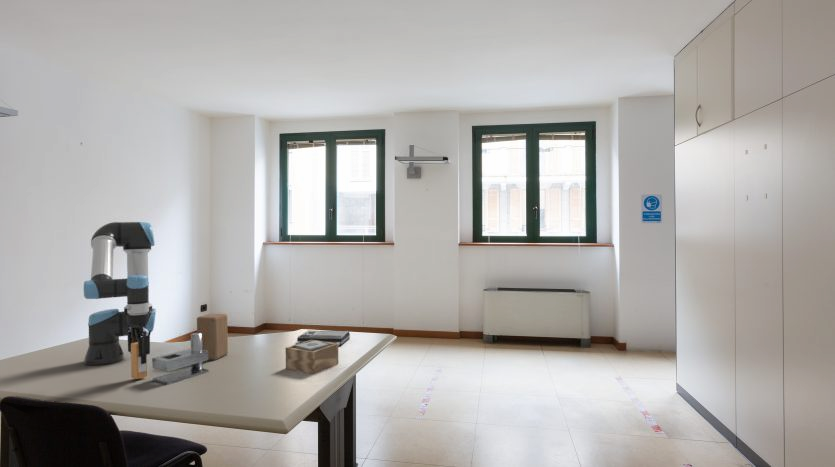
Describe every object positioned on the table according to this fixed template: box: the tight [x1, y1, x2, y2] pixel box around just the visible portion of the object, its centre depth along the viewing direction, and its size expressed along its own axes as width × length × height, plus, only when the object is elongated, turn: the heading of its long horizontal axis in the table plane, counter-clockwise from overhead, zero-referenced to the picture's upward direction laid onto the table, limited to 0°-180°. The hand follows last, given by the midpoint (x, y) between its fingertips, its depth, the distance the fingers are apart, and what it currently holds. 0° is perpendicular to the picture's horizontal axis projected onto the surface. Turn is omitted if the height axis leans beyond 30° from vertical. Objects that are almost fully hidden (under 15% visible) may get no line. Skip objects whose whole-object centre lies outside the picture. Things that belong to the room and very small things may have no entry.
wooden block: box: [196, 313, 229, 361], centre depth 215 cm, size 10×10×20 cm
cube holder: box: [285, 340, 339, 375], centre depth 200 cm, size 16×16×9 cm
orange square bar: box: [130, 342, 148, 380], centre depth 184 cm, size 4×4×14 cm
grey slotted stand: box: [151, 332, 209, 385], centre depth 188 cm, size 10×18×16 cm, turn 150°
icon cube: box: [296, 341, 329, 351], centre depth 198 cm, size 10×10×10 cm
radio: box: [294, 330, 351, 347], centre depth 241 cm, size 24×5×20 cm
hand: (139, 370), depth 184 cm, fingers closed on orange square bar, 4 cm apart
